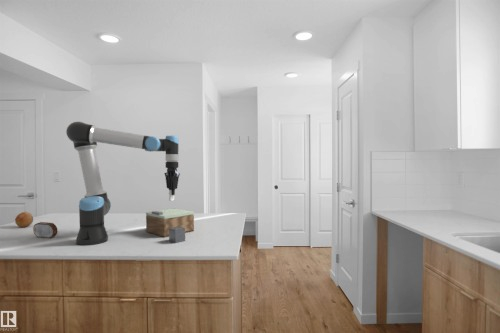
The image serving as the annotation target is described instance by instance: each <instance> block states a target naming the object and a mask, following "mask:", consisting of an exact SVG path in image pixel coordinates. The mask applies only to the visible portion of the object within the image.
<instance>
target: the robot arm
mask: <svg viewBox="0 0 500 333" xmlns="http://www.w3.org/2000/svg"><path fill="white" fill-rule="evenodd" d="M65 132H66V136H67V138H68V140H70V141H71V142H72V144H73V148H74V149H75V151H77V152H78V155H79V156H78V157H79V161H80V166H81V171H82V177H83V180H84V186H85V191H86V192H85V195H84V197H83V198H81V199H80V200H79V202H78V209H79V210H78V211H79V213H78V214H79V230H78V233H77V236H76V239H75V243H76V245H79V246H80V245H81V246H91V245H98V244H102V243H106V242H107V241H108V240H109V235H108V231H107V230H106V227H105V216H106V215H107V214H108V213H109V211H110V210H111V206H112V204H111V201H110V199H109V198H108V193H107V190H104V188H103V183H102V178H101V172H100V167H99V162H98V158H97V153H96V148H97V147H98V144H97V143H102V144H107V145H114V146H121V147H126V148H134V149H142V150H144V151H145V152H165V168H166V172H164V177H165V182H166V184H165V185H166V188H167V189H168V195H169V196H168V200H169V201H170V202H171V201H172V202H173V201H175V194H176V193H175V192H176V190H177V189H178V186H179V185H178V184H179V179H180V178H179V177H180V176H181V174H180V172H178V168H179V162H178V161H179V137H178V136H177V135H166V136H165V138H158V137H157V136H150V135H143V134H137V133H130V132H124V131H120V130H111V129H107V128H99V127H96V126H95V125H93V124H90V123H89V124H88V123H85V122H82V121H74V122H71V123H70V124H69V125H68V126H67V127H66V131H65Z"/></svg>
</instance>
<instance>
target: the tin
mask: <svg viewBox="0 0 500 333" xmlns="http://www.w3.org/2000/svg"><path fill="white" fill-rule="evenodd" d="M32 228H33V233H34V234H33V235H35V237H37V238H41V239H51V238H55V237H56V236H57V235H58V227H57V225H56V224H55V223H54V222H43V221H40V222H37V223H35V224H34V225H33V227H32Z"/></svg>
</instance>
